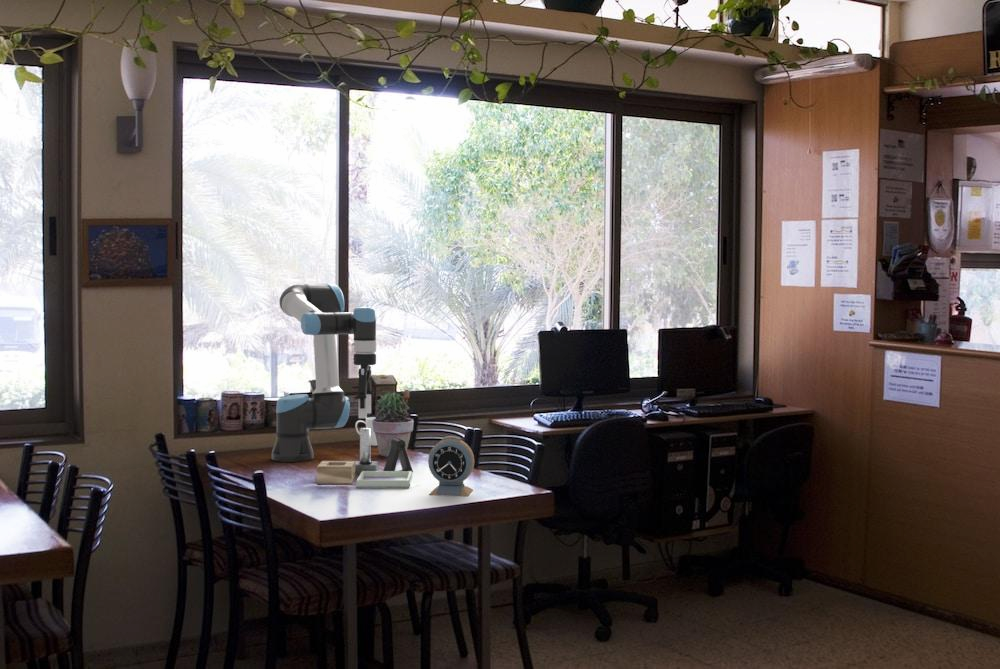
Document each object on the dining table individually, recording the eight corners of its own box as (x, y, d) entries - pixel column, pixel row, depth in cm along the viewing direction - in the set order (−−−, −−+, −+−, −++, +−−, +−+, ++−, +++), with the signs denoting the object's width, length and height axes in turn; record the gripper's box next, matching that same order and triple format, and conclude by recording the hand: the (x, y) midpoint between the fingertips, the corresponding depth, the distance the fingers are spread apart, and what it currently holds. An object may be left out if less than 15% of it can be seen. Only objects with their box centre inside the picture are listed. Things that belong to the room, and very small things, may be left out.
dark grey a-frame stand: (388, 476, 371) (388, 441, 371) (382, 473, 377) (382, 438, 376) (413, 474, 375) (413, 439, 374) (407, 471, 380) (407, 437, 380)
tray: (362, 478, 367) (362, 471, 367) (412, 478, 367) (412, 471, 367) (356, 488, 350) (356, 480, 350) (408, 488, 351) (408, 480, 350)
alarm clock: (425, 495, 340) (425, 438, 339) (431, 488, 350) (432, 433, 349) (471, 496, 338) (471, 439, 337) (476, 490, 348) (476, 434, 347)
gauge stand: (354, 472, 378) (354, 461, 377) (378, 472, 378) (378, 461, 377) (352, 476, 370) (352, 465, 369) (375, 477, 370) (375, 465, 369)
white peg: (360, 471, 375) (360, 427, 375) (371, 471, 375) (371, 427, 375) (359, 473, 372) (359, 429, 371) (370, 473, 372) (370, 429, 371)
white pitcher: (383, 442, 446) (383, 416, 446) (387, 445, 439) (387, 419, 438) (353, 443, 442) (353, 417, 442) (357, 446, 435) (357, 420, 434)
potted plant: (368, 450, 425) (368, 386, 424) (418, 451, 424) (419, 386, 423) (360, 458, 407) (360, 391, 406) (413, 459, 406) (413, 391, 405)
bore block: (322, 478, 366) (322, 460, 366) (355, 478, 366) (355, 460, 366) (317, 485, 355) (317, 466, 355) (351, 485, 355) (351, 466, 355)
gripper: (357, 350, 384) (358, 411, 385) (349, 355, 359) (349, 420, 360) (379, 350, 384) (379, 411, 385) (372, 355, 359) (372, 420, 360)
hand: (364, 415), depth 372 cm, fingers open, 13 cm apart
